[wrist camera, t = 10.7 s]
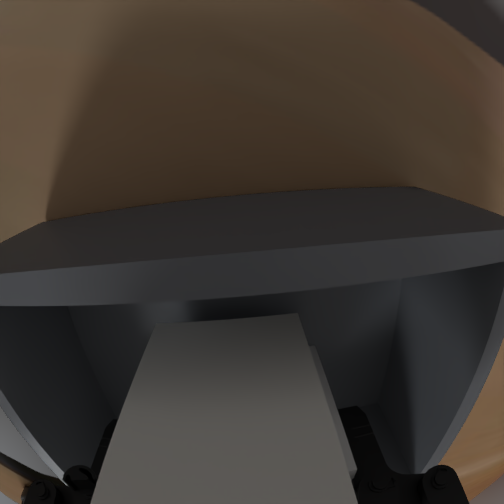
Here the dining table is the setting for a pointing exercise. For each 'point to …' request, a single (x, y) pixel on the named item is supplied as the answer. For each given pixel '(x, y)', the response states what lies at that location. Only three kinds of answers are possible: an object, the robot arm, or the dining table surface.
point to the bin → (258, 306)
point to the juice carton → (226, 420)
